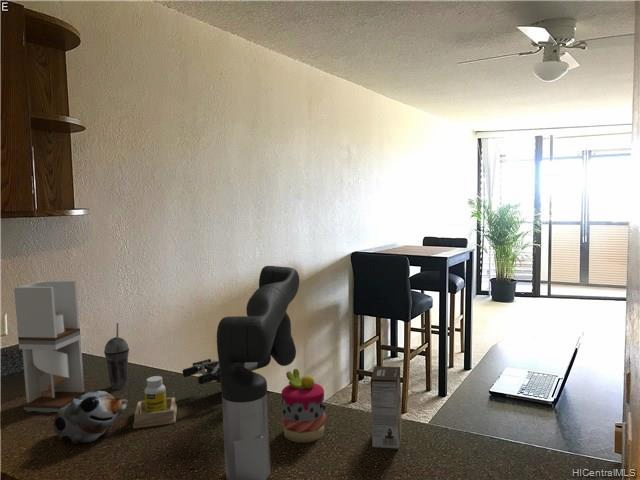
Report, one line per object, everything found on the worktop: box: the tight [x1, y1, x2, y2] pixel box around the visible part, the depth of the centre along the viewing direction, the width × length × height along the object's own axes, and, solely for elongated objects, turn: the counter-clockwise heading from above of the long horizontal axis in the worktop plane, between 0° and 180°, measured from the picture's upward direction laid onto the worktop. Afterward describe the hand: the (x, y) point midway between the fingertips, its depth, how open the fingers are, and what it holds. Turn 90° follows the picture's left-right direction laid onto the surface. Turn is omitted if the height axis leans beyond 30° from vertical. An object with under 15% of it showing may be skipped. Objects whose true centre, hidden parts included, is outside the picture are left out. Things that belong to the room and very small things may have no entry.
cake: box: [280, 368, 327, 443], centre depth 124 cm, size 10×11×15 cm
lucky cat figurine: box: [53, 390, 129, 445], centre depth 127 cm, size 15×12×14 cm
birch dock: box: [132, 396, 178, 429], centre depth 136 cm, size 11×10×3 cm
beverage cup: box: [103, 322, 130, 390], centre depth 159 cm, size 7×7×20 cm
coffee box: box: [370, 366, 403, 450], centre depth 119 cm, size 9×6×16 cm
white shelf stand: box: [13, 280, 86, 413], centre depth 146 cm, size 11×11×35 cm
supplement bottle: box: [144, 375, 167, 413], centre depth 136 cm, size 5×5×10 cm
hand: (190, 377), depth 143 cm, fingers open, 8 cm apart
